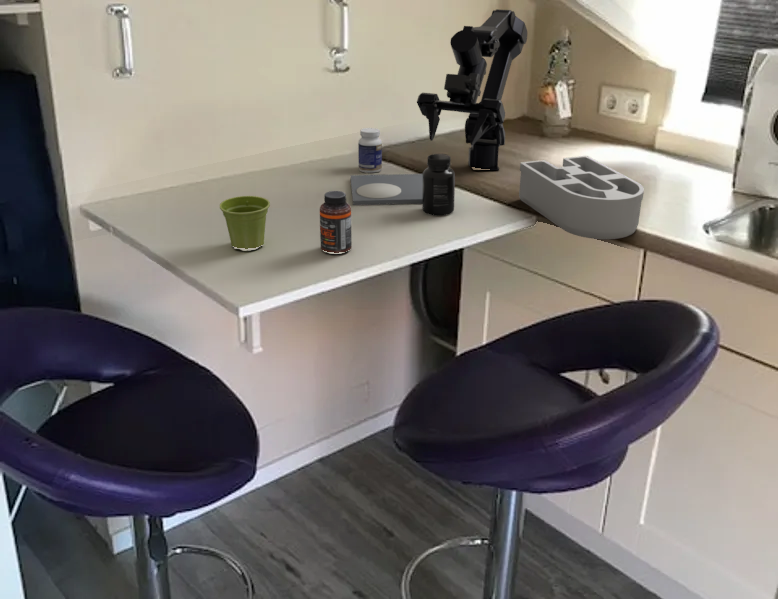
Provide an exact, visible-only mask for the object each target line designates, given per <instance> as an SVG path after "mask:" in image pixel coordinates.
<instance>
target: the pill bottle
mask: <svg viewBox="0 0 778 599" xmlns="http://www.w3.org/2000/svg"><path fill="white" fill-rule="evenodd" d="M359 132H360V133H359V135H360V136H361V137H360V138H359V139H358V145H357V146H358V148H357V149H358V152H357V153H358V170H359V171H360V172H362V173H367V174H374V173H379V172H381V171H382V168H383V143H382V142H383V141H382V139H381V138H380V136H381V131H380V129H379V128H377V127H363V128H361V129H360V131H359Z"/></svg>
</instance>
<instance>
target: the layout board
mask: <svg viewBox="0 0 778 599" xmlns="http://www.w3.org/2000/svg"><path fill="white" fill-rule="evenodd" d="M350 187H351V196H352V205H353V206H367V205H368V206H371V205H373V206H374V205H379V206H380V205H409V204H411V205H412V204H413V205H417V204H421V205H422V188H423V173H402V174H401V173H399V174H398V173H393V174H392V173H391V174H355V175H354V174H352V175H350Z"/></svg>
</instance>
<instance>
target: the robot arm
mask: <svg viewBox="0 0 778 599" xmlns="http://www.w3.org/2000/svg"><path fill="white" fill-rule="evenodd" d="M515 13H516V12H515V11H514V10H513V11H512V9H495V10H494V9H493V10H492V12H491V15H490V16H489V17H488V18H487V19H486V20H485V21H484V22H483V23H482V24H481V25H480V26H472V25H463V27H462V28H463V29H462V30H459V31H456V33H455V34H453V35H452V36H451V38H450V47H451V50H452V53H453V56H454V58H455V62H456V64H457V65H458V66H459V68H458V71H457V74H454V73H446V76H445V82H444V87H443V90H445V91H447V92H446V97H447V99H449V101H448V100H441V99H440V98H439V95H438V93H430V92H421V93H419V95H418V96H417V100H416V103H417V106H418V108H419V110H420V113H421V115H422V116H424V117H425V118H426V120H428V132H429V133H428V134H429V135H428V136H429V140H430V141H433V140H434V138H435V136H436V132H437V129H438V127H439V123H440V121H441V120H440V119H441V118H440V115H441V114H442V111H448V112H456V113H457V112H458V113H464V114H467V113H468V114H469V115H468V117H467V118H466V119H465V123H464V133H465V134H464V135H465V143H466V144H470V147H469V148H468V160H467V161H468V162H467V163H468V166H469V167H470V168H471V167H475V168H481V169H490V170H497V171H500V167H499V150H500V149H499V148H500V147H501V146H505V144H506V131H505V128H504V122H505V117H506V112H505V108H504V105H503V104H504V103H503V102H502V99H503V94H504V91H505V88H506V85H507V81H508V77H509V73H510V69H511V66H512V62H513V60H514V59H516V58H517V57H518V56H519V55H521V54H522V52H523V48H524V45H526V44H527V40H528V29H527V25H526V22H524V21H523V20H522V19H520V17H518V16H516V14H515ZM485 58H492V61H491V64H490V68H489V70H488V71H489V72H488V75H487V67H488V63H487V61H486V60H487V59H485ZM485 75H487V79H486V81H485V82H486V83H485V85H484V89H483V92H482V91H481V88H482V84H483V81H484V77H485ZM481 92H482V93H481ZM481 94H482V96H481ZM479 97H481V99H480V101H479V102H477V101H478V98H479Z"/></svg>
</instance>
